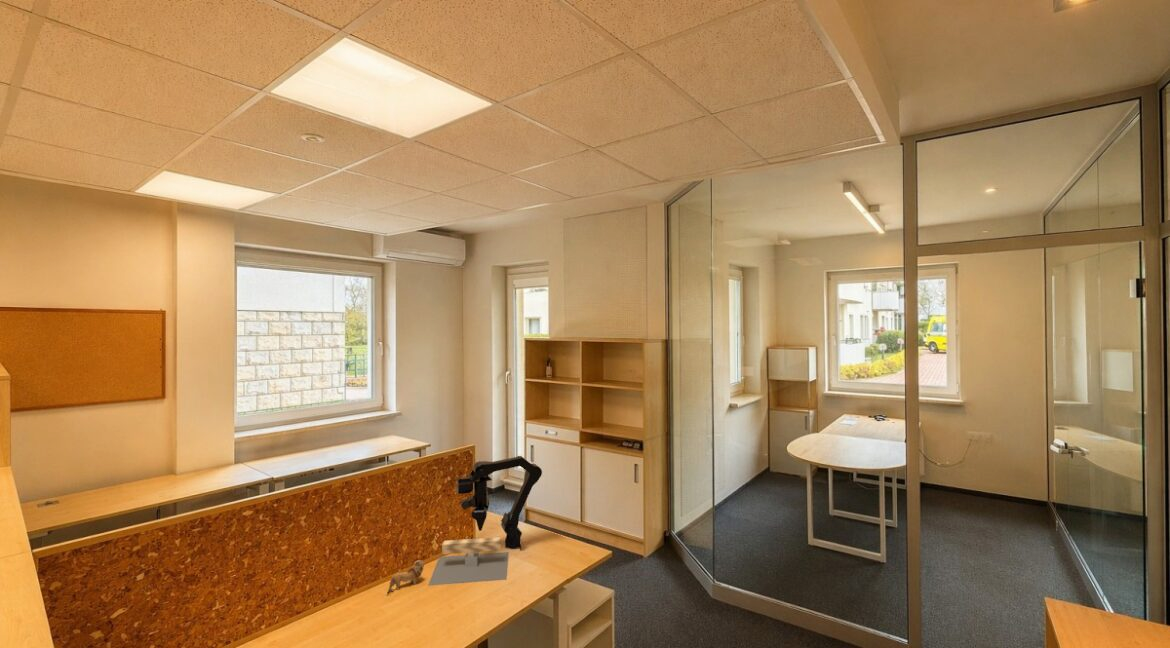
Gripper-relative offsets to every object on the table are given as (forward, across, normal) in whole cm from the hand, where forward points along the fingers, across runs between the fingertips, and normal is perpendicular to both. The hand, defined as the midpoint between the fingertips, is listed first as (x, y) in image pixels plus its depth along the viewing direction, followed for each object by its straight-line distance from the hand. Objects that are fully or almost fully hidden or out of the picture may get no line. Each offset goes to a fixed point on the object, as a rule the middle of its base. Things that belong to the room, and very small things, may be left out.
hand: (481, 526), depth 222 cm
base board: (+12, +14, -3) cm, 19 cm away
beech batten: (+6, +10, -3) cm, 12 cm away
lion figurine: (+13, +25, -26) cm, 39 cm away
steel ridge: (+11, +10, -3) cm, 15 cm away
